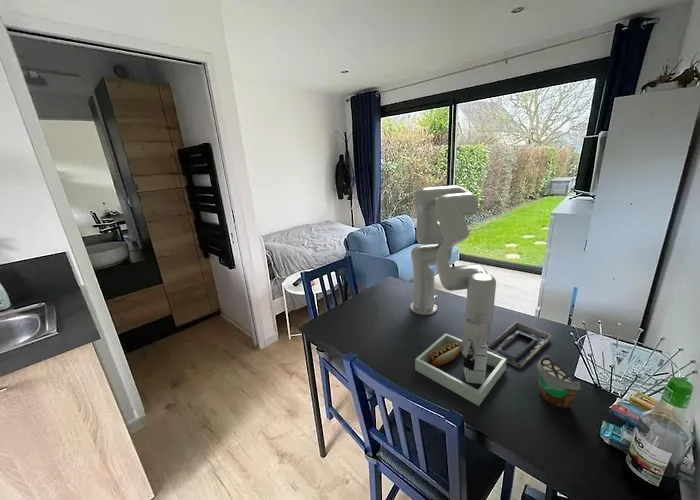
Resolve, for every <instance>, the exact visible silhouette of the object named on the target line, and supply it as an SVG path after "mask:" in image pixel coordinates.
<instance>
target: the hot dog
mask: <svg viewBox="0 0 700 500" xmlns="http://www.w3.org/2000/svg"><path fill="white" fill-rule="evenodd" d="M460 353H461V352H460V347H459V344H458V343H448V344H446V345H444V346H442V347H440V348H438V349H437V350H435V351H433V352H431V353H430V354H429V361H428V362H429V364H430V365H432V366H434V367H440V366H444V365H445V364H448V363H450V362H451V361H453V360H455V359H456V358H457V357H458V356H459V354H460Z"/></svg>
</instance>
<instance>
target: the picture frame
mask: <svg viewBox="0 0 700 500" xmlns="http://www.w3.org/2000/svg"><path fill="white" fill-rule="evenodd" d="M516 329H519V330H522V331H525V332H528V334H530V335H528V334H526V333H524V332H520V331H519V330H516ZM514 330H515V332H514V333H513V331H514ZM511 333H513V334H511ZM508 335H509V336H508ZM519 335H523V336H525V337H527V338H530V339H532V341H531V342H529V344H527V345H525V347H524V348H522V350H520V351H519V353H517V354H516V355H515V354H511V353H508V352H507V351H505V350H503V349H504V348H505V347H507V345H508V344H510V343H512V341H514V340H515V339H516V338H517V337H518V336H519ZM551 336H552V335H551V334H550V333H548V332H545V331H543V330H540V329H537V328H534V327H533V326H529V325H527V324H525V323H522V322H519V321H515V322H513V323H512V324H511V325H509V326H508V328H506V329H504V331H503V332H502V334H501V335H500V334H499V336H498V337H497V338H496V339H494V340H493V342H490V344H487V345H488V350H487V351H489V352H491V353H494V354H496V355H499V356H501V357H503V358H506V359H507V360H506V363H508V364H511V365H512V366H514V367H515V368H517V369H521V368H523V367H525V365H526V364H527V363H528V362H529V361H530V360H531V359H533V358H534V357H535V356H536V355H537V354H538V353H539V352H540V350H542V349H543V348H544V347H545V346H546V345H547V344H548V343H549V341H550V338H551ZM537 337H538V338H537ZM503 339H504V340H503ZM539 339H540V340H541V341H539ZM501 341H502V343H501V344H498V343H499V342H501ZM538 341H539V344H537V345H535V343H537V342H538ZM496 345H498V347H497V349H496V350H497V352H496V351H494V350H492V348H494V346H496ZM533 345H535V346H533ZM532 346H533V348H534V349H530V348H531V347H532ZM529 349H530V350H529ZM528 350H529V353H530V355H529V356H527V357H526V359H525V360H524V361H522V363H520V362H519V363H518V362H516V361H517V360H518V359H519V358H520V357H521V356H522V355H523V354H525V353H526V352H527V351H528Z"/></svg>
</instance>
